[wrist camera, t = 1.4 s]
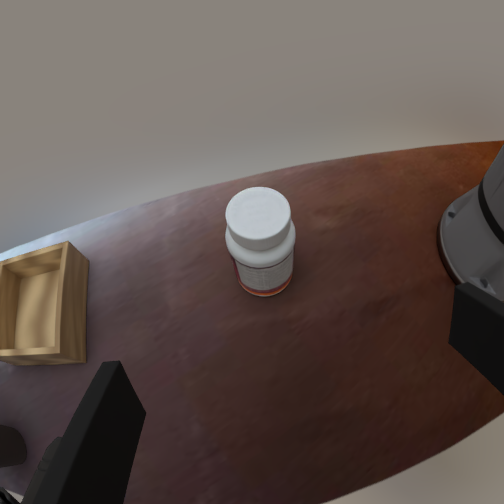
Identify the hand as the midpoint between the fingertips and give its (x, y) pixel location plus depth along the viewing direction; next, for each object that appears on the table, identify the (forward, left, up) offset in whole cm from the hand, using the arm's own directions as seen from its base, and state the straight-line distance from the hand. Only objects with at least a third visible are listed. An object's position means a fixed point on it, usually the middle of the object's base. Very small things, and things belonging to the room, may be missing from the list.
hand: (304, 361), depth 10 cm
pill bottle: (0, -13, -20) cm, 24 cm away
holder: (+29, -12, -20) cm, 37 cm away
